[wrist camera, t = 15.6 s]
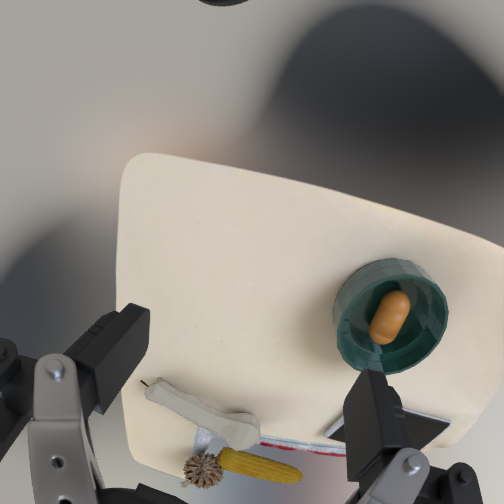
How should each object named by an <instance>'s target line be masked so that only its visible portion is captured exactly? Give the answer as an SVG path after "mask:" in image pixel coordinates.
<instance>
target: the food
mask: <svg viewBox="0 0 504 504" xmlns="http://www.w3.org/2000/svg"><path fill="white" fill-rule="evenodd" d="M216 462H217V463H218V464H219V466H221V467H222V468H224V469H226V470H229V471H232V472H235V473H240V474H244V475H247V476H252V477H254V478H260V479H265V480H270V481H273V482H280V483H297V482H299V481H300V480H301V479H302V473H301V472H300V471H299V470H298V469H296V468H294V467H292V466H289V465H286V464H284V463H280V462H276V461H274V460H270V459H268V458H264V457H260V456H257V455H253V454H249V453H246V452H242V451H235V450H234V449H232V448H228V447H226V448H225V447H224V448H223V450H221V451H220V453H219V454H218V458H217V460H216Z"/></svg>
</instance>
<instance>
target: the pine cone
mask: <svg viewBox="0 0 504 504" xmlns="http://www.w3.org/2000/svg"><path fill="white" fill-rule="evenodd" d="M216 457H217V456H216ZM216 457H214V454H213V455H212V454H211V455H209V453H208V454H206V455H205V454H204V453H202V454H201V453H199V454H198V456H196V455H195V456H194V455H192V459H191V458H190V459H188V460H189V461H186V464H185V466H186V467H184V468H185V469H183V470H184V471H185V472H184V473H185V475H186V476H185V477H186V479H188V480H186V481H185V482H181V484H182V486H181V487H182V488H183V487H185V488H186V487H187V485H188V484H190V483H191V484H194V485H196V486H198V488H200V487H202V488H204V489H206V488H207V489H208V487H210V486H212V487H213V486H214V485H215V484H216V485H218V483H219V482H221V480H222V478H224V477H223V474H224V469H223V468H221V466H219V464H218V463H217V462H216V460H217V458H216Z"/></svg>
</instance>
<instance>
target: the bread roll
mask: <svg viewBox="0 0 504 504" xmlns="http://www.w3.org/2000/svg"><path fill="white" fill-rule="evenodd" d="M409 310H410V300H409V298H408V296H407V295H406V294H405V293H404V292H402V291H400V290H392V291H389V292H387V293H386V294H385V295H384V296H383V298H382V299H381V302H380V304H379V306H378V308H377V310H376V313H375V315H374V317H373V319H372V321H371V323H370V326H369V334H370V337H371V338H372V340H373V341H374V342H376V343H378V344H388V343H390V342H392V341H393V340H394V339H395V338H396V336H397V334H398V332H399V330H400V328H401V327H402V325H403V323H404V321H405V319H406V317H407V315H408V313H409Z"/></svg>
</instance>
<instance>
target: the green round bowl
mask: <svg viewBox="0 0 504 504" xmlns="http://www.w3.org/2000/svg"><path fill="white" fill-rule="evenodd" d="M392 290H400V291H402V292H404V293H405V294H406V295H407V296H408V298H409V300H410V310H409V313H408V315H407V317H406V319H405V321H404V323H403V325H402V327H401V328H400V330H399V332H398V334H397V336H396V338H395V339H394V340H393V341H392V342H390V343H388V344H378V343H376V342H374V341H373V340H372V338H371V337H370V334H369V326H370V323H371V321H372V319H373V317H374V315H375V313H376V310H377V308H378V306H379V304H380V302H381V299H382V298H383V296H384V295H385V294H386V293H387V292H389V291H392ZM448 314H449V311H448V306H447V301H446V297H445V295H444V294H443V292H442V291H441V290H440V288H439V287H438V285H437V284H436V283H435V282H434V281H433V279H432V278H431V277H430V276H429V275H428V274H427V273H426V272H425V270H424V269H423V268H421V267H419V266H418V265H416V264H415V263H413V262H411V261H408V260H402V259H397V258H392V259H385V260H378V261H375V262H373V263H371V264H369V265H367V266H364V267H362V268H360V269H359V270H358V271H357V272H356V273H355V274H353V275H352V276H351V277H350V278H349V279H348V280H347V281H346V282H345V284H344V285H343V287H342V289H341V290H340V292H339V293H338V295H337V298H336V302H335V305H334V309H333V315H334V327H335V334H336V340H337V347H338V349H339V351H340V353H341V355H342V357H343V359H344V360H345V361H346V362H347V363H348V364H349V365H350V366H351V367H353V368H354V369H355V370H358V371H360V372H362V370H363V369H371V370H376V371H382V372H384V373H385V375H390V374H395V373H400V372H402V371H405V370H407V369H409V368H411V367H414V366H416V365H417V364H418V363H420V362H421V361H422V360H424V359H425V358H426V357H427V356H429V355H430V353H431V352H432V351H433V350H434V349H435V347H436V346H437V345H438V344H439V342H440V340H441V338H442V336H443V334H444V332H445V330H446V327H447V321H448Z"/></svg>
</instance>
